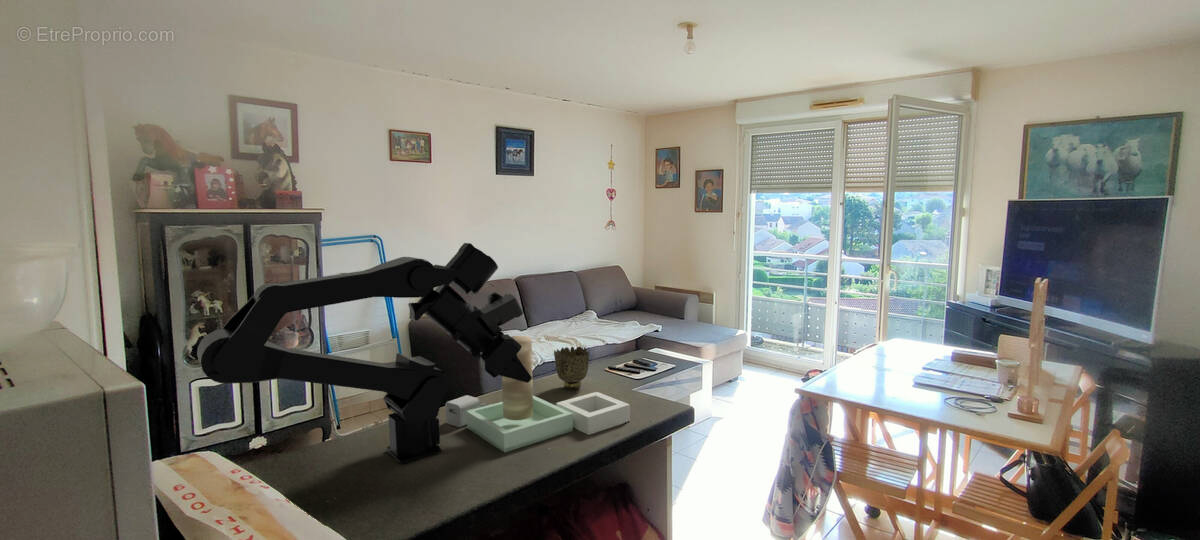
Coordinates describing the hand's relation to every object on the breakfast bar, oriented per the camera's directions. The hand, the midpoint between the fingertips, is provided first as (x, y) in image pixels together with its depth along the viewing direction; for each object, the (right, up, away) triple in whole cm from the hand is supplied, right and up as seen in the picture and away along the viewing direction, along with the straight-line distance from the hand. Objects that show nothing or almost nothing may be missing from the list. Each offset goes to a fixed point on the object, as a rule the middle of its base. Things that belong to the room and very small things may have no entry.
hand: (525, 376), depth 94 cm
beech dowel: (-1, -7, 0) cm, 7 cm away
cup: (+7, -7, +22) cm, 24 cm away
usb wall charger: (-11, -9, +5) cm, 15 cm away
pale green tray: (-1, -9, 0) cm, 9 cm away
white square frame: (+11, -9, +4) cm, 15 cm away
